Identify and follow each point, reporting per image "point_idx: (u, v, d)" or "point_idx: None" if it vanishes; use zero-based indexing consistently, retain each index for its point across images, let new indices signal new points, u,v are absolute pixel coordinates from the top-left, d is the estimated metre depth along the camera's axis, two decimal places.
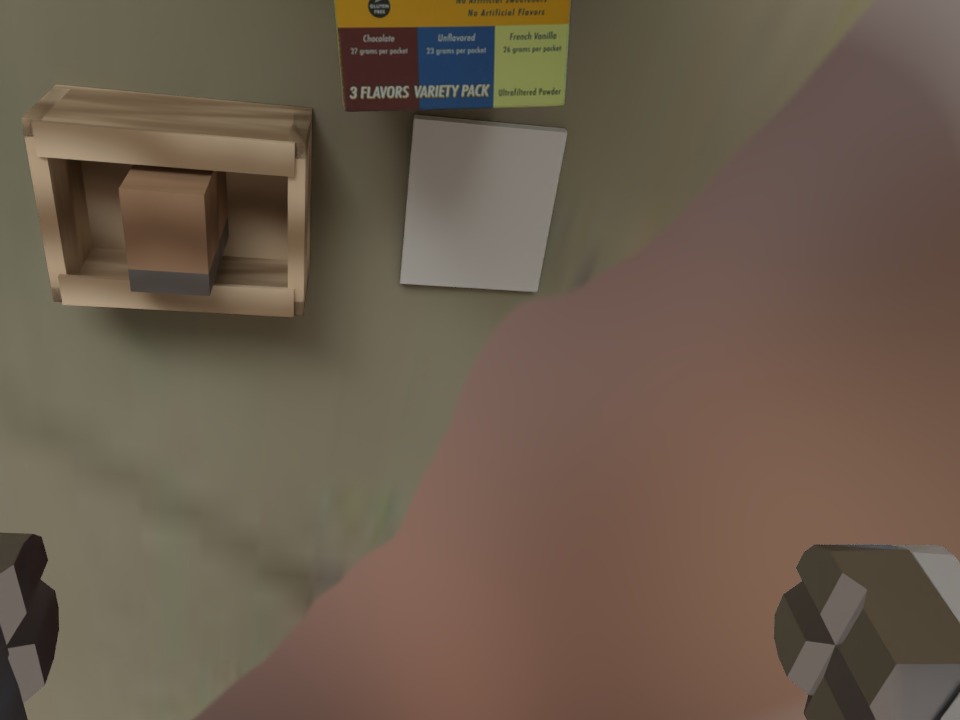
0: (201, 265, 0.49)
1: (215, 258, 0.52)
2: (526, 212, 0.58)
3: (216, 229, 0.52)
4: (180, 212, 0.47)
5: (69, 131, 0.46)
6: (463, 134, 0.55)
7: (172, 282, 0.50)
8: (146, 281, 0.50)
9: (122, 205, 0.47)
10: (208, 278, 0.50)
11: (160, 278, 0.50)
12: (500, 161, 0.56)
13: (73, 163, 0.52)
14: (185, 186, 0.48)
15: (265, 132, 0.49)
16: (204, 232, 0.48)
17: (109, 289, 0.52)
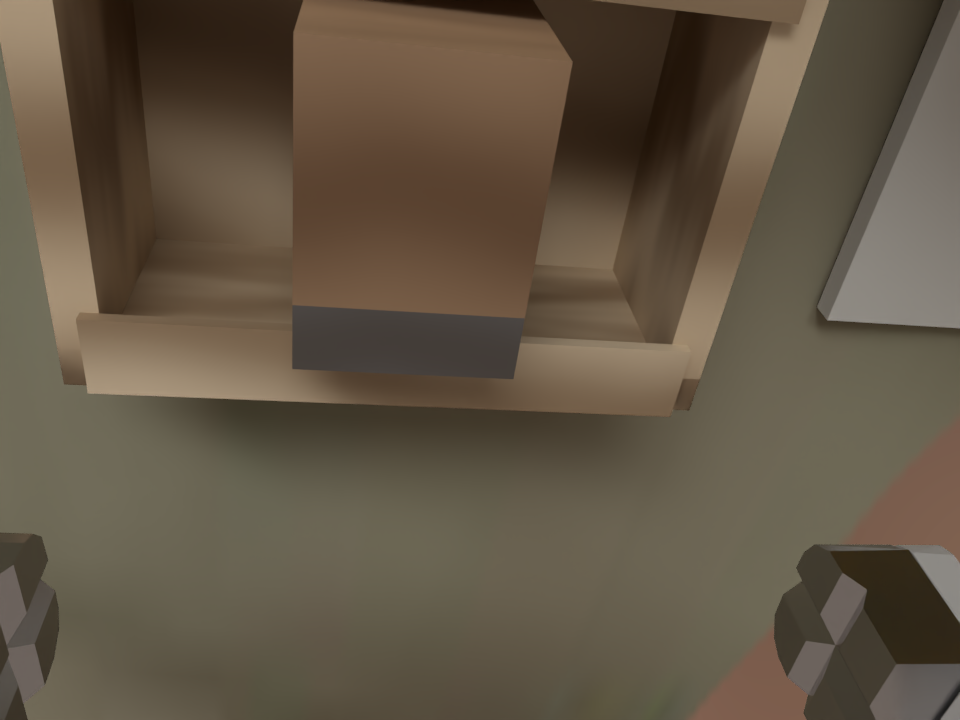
0: (510, 293, 0.16)
1: None
2: None
3: None
4: (482, 123, 0.14)
5: None
6: None
7: (416, 342, 0.17)
8: (341, 340, 0.17)
9: (299, 95, 0.14)
10: (520, 330, 0.17)
11: (384, 330, 0.17)
12: None
13: (117, 6, 0.19)
14: (494, 37, 0.15)
15: None
16: (542, 192, 0.15)
17: (215, 353, 0.19)
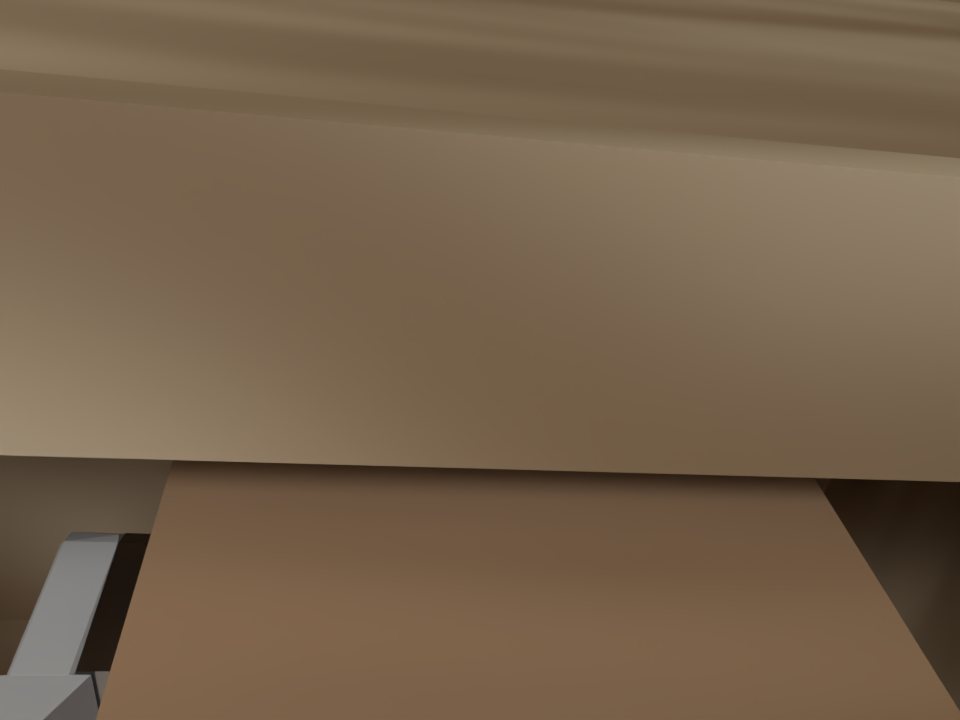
0: None
1: None
2: None
3: None
4: None
5: None
6: None
7: None
8: None
9: None
10: None
11: None
12: None
13: None
14: (749, 700, 0.05)
15: None
16: None
17: None
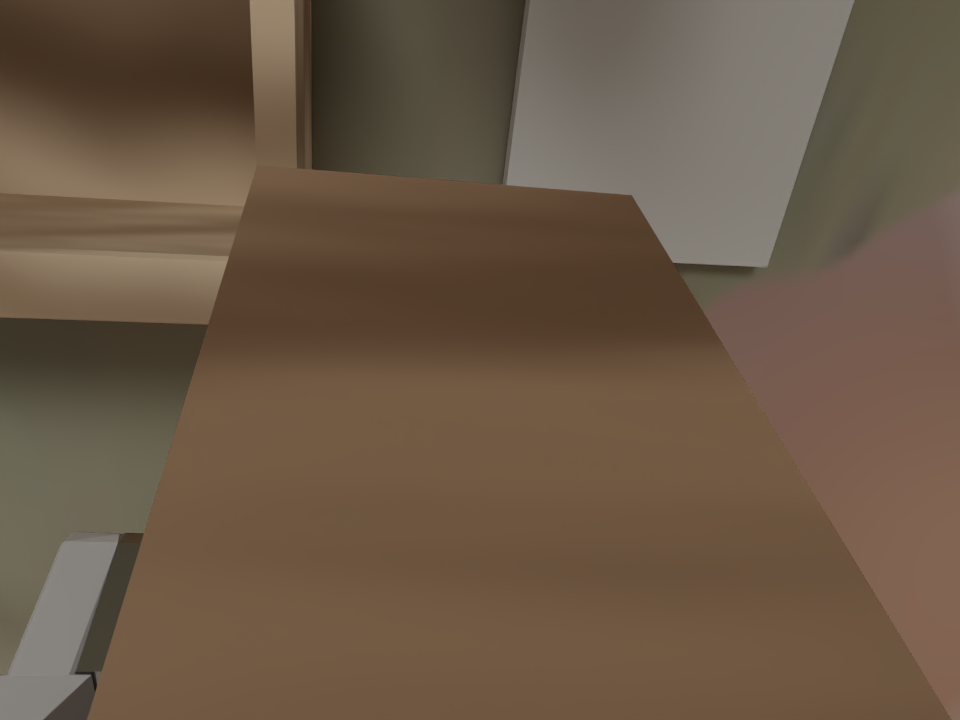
0: None
1: None
2: (770, 94, 0.27)
3: None
4: None
5: None
6: None
7: None
8: None
9: None
10: None
11: None
12: None
13: None
14: (740, 704, 0.05)
15: None
16: None
17: None
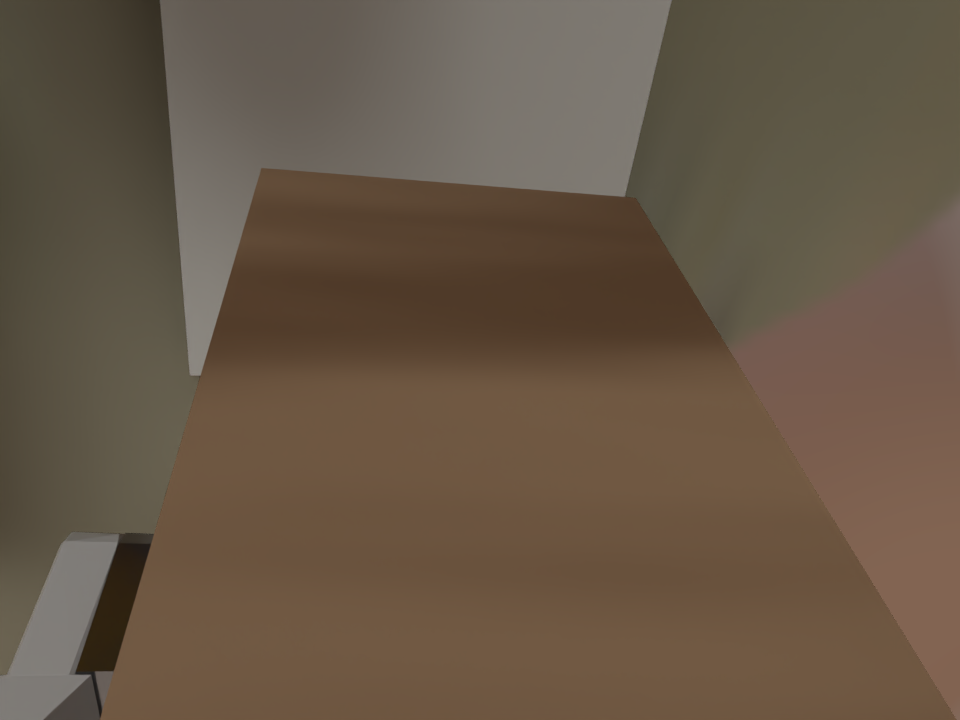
0: None
1: None
2: (553, 167, 0.19)
3: None
4: None
5: None
6: None
7: None
8: None
9: None
10: None
11: None
12: None
13: None
14: (749, 709, 0.05)
15: None
16: None
17: None
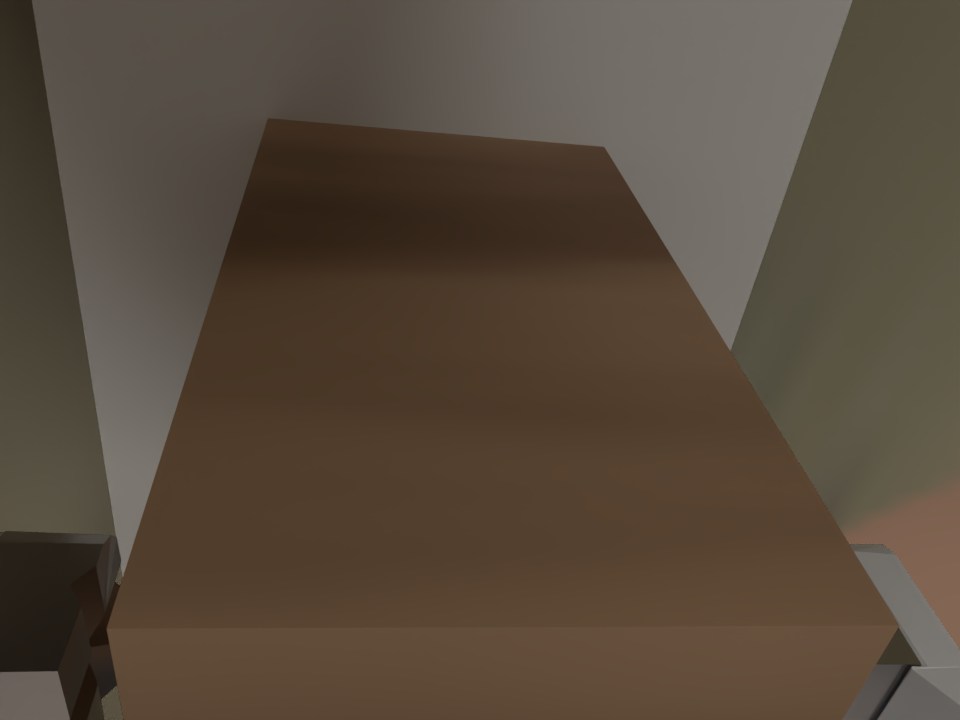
0: None
1: None
2: None
3: None
4: None
5: None
6: None
7: None
8: None
9: None
10: None
11: None
12: (514, 109, 0.11)
13: None
14: (661, 501, 0.06)
15: None
16: None
17: None
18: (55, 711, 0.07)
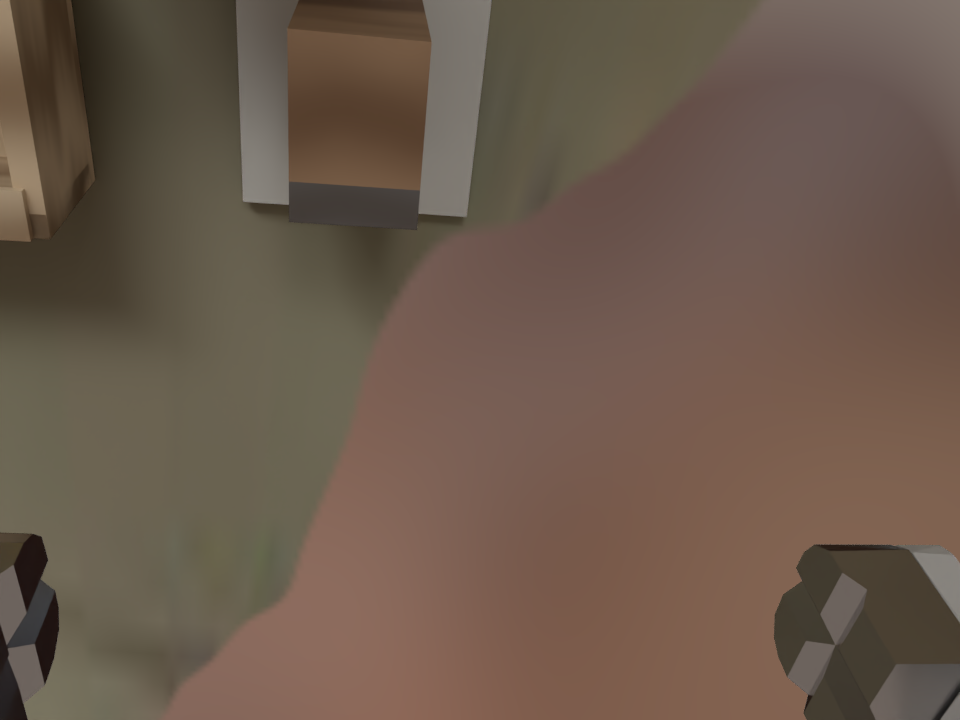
0: (410, 174, 0.29)
1: None
2: (439, 76, 0.35)
3: None
4: (387, 76, 0.27)
5: None
6: None
7: (359, 205, 0.30)
8: (316, 203, 0.30)
9: (290, 61, 0.27)
10: (418, 198, 0.30)
11: (340, 198, 0.29)
12: None
13: None
14: (393, 31, 0.28)
15: None
16: (422, 114, 0.28)
17: None
18: None
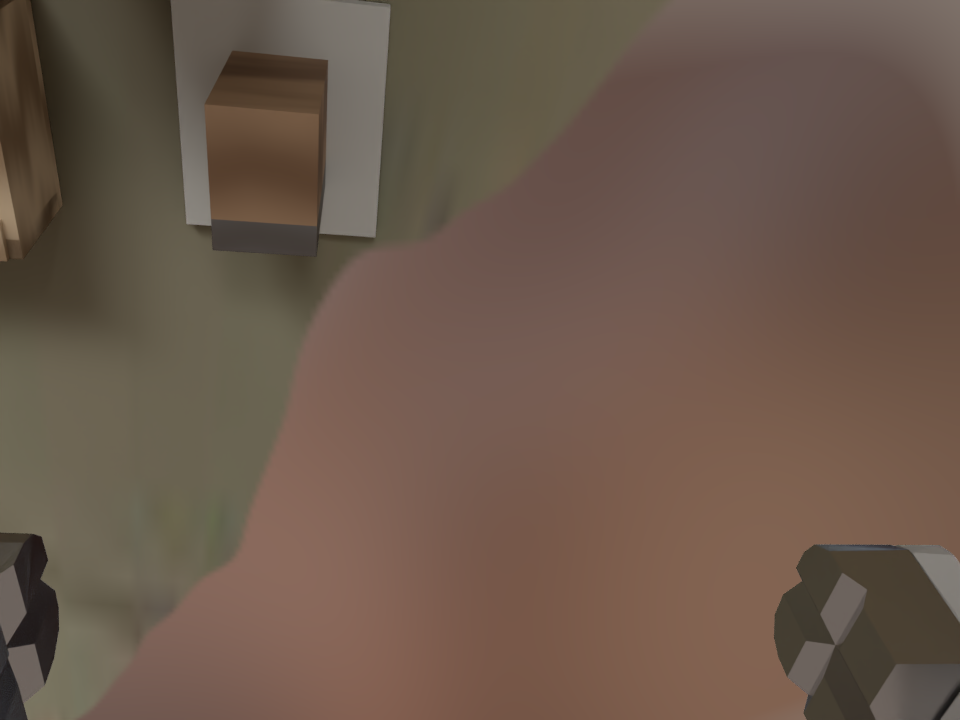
0: (308, 214, 0.37)
1: None
2: (347, 124, 0.43)
3: (321, 170, 0.39)
4: (285, 139, 0.35)
5: None
6: (243, 8, 0.39)
7: (268, 237, 0.37)
8: (234, 236, 0.37)
9: (208, 128, 0.34)
10: (316, 232, 0.38)
11: (253, 231, 0.37)
12: (300, 48, 0.41)
13: None
14: (291, 103, 0.35)
15: None
16: (315, 168, 0.36)
17: None
18: None
